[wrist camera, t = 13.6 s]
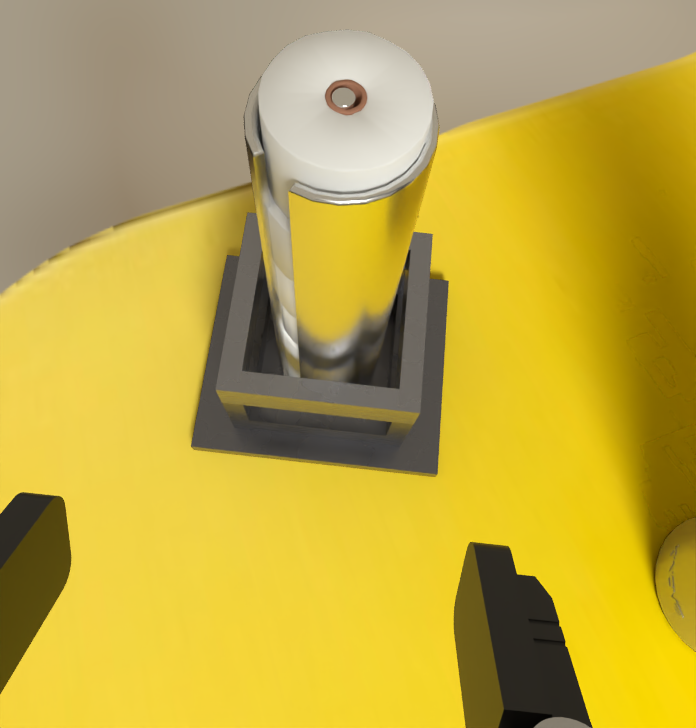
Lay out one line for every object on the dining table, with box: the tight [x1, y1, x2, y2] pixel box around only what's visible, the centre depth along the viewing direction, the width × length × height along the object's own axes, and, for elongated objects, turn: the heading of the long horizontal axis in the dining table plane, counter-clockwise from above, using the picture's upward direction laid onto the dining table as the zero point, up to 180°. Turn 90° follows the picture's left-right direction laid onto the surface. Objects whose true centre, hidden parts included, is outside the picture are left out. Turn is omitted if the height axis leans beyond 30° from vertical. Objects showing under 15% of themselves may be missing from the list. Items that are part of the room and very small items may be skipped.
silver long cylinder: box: [244, 30, 439, 386], centre depth 32 cm, size 6×6×25 cm
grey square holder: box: [191, 213, 448, 477], centre depth 40 cm, size 16×14×10 cm
